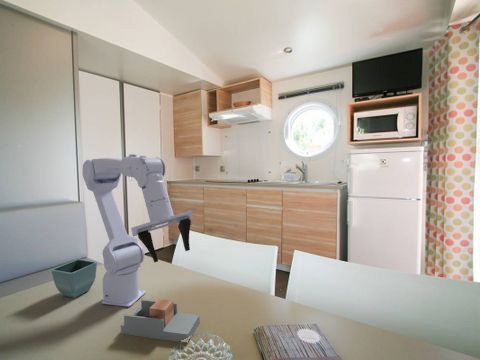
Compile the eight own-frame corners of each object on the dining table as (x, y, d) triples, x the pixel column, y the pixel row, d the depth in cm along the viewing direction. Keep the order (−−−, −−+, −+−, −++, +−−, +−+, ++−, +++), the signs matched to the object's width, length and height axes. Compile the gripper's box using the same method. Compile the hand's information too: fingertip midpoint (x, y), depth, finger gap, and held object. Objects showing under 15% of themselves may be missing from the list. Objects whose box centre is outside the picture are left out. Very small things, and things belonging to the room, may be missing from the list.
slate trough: (121, 333, 57) (120, 315, 57) (139, 315, 64) (138, 299, 63) (187, 343, 53) (187, 323, 53) (199, 323, 60) (199, 305, 60)
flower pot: (72, 303, 70) (71, 273, 70) (52, 298, 73) (50, 269, 73) (99, 288, 79) (97, 261, 78) (79, 284, 81) (78, 258, 81)
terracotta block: (150, 324, 57) (149, 308, 56) (159, 314, 61) (158, 299, 60) (165, 326, 56) (164, 310, 56) (173, 316, 60) (173, 300, 60)
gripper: (126, 206, 53) (141, 267, 51) (189, 191, 60) (205, 245, 58) (126, 212, 59) (140, 267, 57) (183, 198, 66) (197, 246, 64)
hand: (172, 256), depth 58 cm, fingers open, 7 cm apart
